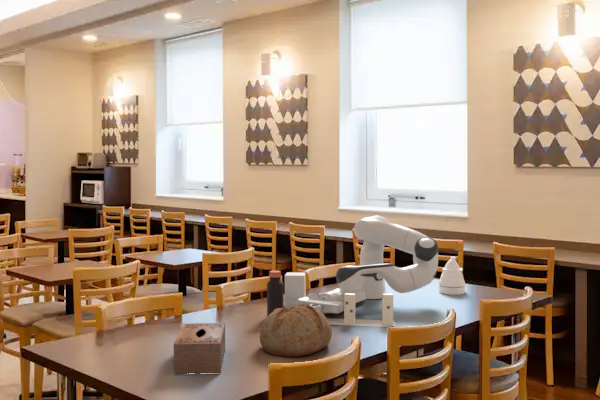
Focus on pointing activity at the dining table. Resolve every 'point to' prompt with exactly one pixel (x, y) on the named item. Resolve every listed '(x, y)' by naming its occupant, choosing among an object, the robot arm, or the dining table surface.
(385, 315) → the tile one
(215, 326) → the tissue box cover
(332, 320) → the felt strip
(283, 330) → the bread
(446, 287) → the honey pot
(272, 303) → the bottle
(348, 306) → the tile two
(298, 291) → the supplement box
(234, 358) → the dining table surface
